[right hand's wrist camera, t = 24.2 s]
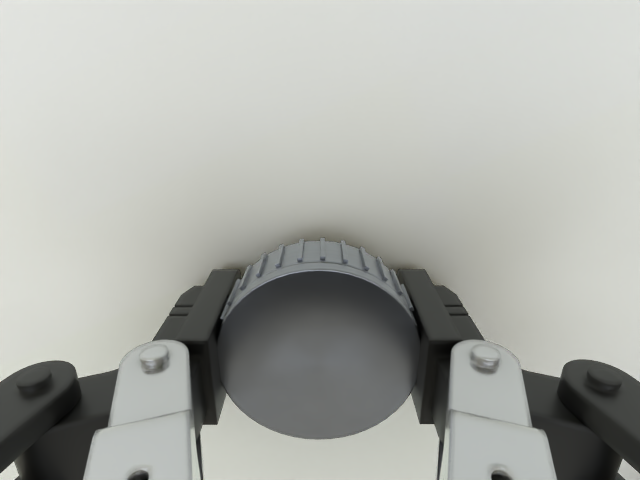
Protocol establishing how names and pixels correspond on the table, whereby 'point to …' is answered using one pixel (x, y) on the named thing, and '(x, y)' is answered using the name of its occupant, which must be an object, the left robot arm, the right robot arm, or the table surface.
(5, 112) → the table surface
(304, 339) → the lid
